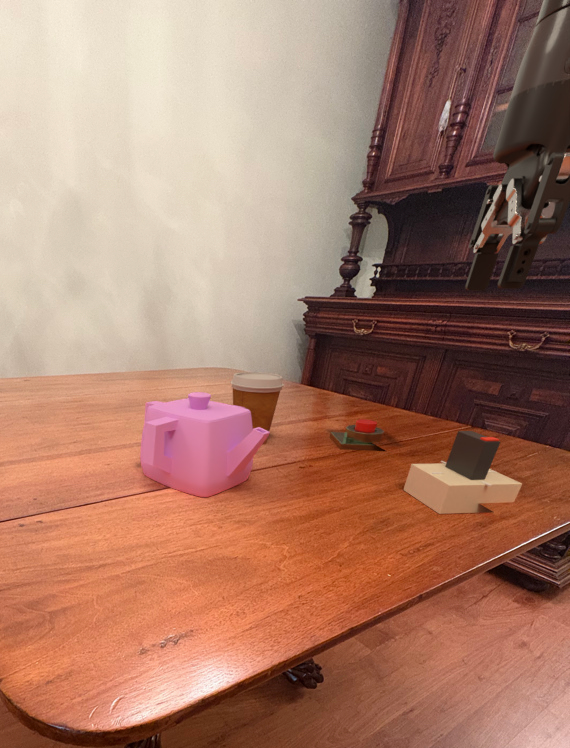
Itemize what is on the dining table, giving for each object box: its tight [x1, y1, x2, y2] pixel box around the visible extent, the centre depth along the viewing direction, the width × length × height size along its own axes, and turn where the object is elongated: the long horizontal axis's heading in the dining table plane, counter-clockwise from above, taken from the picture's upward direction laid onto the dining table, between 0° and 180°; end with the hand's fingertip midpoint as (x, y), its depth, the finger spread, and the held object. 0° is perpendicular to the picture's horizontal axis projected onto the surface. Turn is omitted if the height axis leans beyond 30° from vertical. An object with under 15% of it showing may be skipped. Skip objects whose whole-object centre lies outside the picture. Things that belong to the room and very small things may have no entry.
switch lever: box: [445, 430, 501, 480], centre depth 56 cm, size 5×2×5 cm, turn 6°
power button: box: [354, 418, 378, 432], centre depth 80 cm, size 4×4×2 cm
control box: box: [403, 460, 523, 515], centre depth 58 cm, size 10×9×4 cm
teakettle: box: [139, 391, 271, 498], centre depth 62 cm, size 17×17×12 cm
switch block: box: [329, 424, 387, 452], centre depth 81 cm, size 10×8×3 cm
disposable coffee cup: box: [230, 371, 285, 446], centre depth 79 cm, size 10×10×12 cm
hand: (490, 289), depth 48 cm, fingers open, 8 cm apart
